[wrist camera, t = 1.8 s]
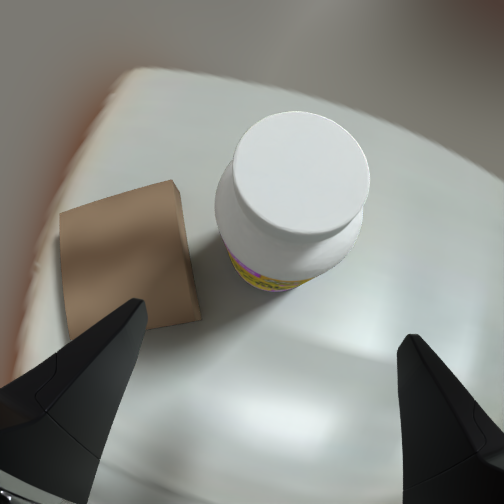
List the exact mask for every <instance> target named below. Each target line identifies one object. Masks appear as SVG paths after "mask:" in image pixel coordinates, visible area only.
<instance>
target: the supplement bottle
mask: <svg viewBox="0 0 504 504" xmlns="http://www.w3.org/2000/svg"><path fill="white" fill-rule="evenodd" d="M369 186H370V172H369V167H368V163H367V160H366V157H365V155H364V153H363V151H362V149H361V147H360V146H359V144H358V143H357V141H356V140H355V139H354V138H353V137H352V136H351V135H350V134H349V133H348V132H347V131H346V130H345V129H344V128H342V127H341V126H340V125H338V124H337V123H335V122H333V121H332V120H330V119H327V118H325V117H323V116H320V115H317V114H313V113H307V112H300V111H290V112H282V113H277V114H274V115H271V116H268V117H265V118H263V119H262V120H260V121H258V122H257V123H255V124H254V125H253V126H252V127H250V128H249V129H248V130H247V131H246V132H245V133H244V135H243V136H242V137H241V139H240V141H239V143H238V144H237V147H236V149H235V152H234V156H233V160H232V161H231V162H230V163H229V165H228V166H227V168H226V169H225V171H224V173H223V174H222V177H221V179H220V181H219V184H218V187H217V191H216V197H215V216H216V221H217V225H218V228H219V231H220V234H221V236H222V239H223V241H224V244H225V246H226V249H227V251H228V254H229V256H230V259H231V262H232V264H233V266H234V268H235V269H236V271H237V272H238V274H239V275H240V276H241V277H242V278H243V279H244V280H245V281H246V282H247V283H249V284H250V285H252V286H254V287H256V288H258V289H261V290H264V291H270V292H281V291H286V290H290V289H293V288H295V287H298V286H300V285H302V284H303V283H305V282H307V281H309V280H311V279H313V278H315V277H317V276H319V275H321V274H323V273H325V272H327V271H328V270H330V269H332V268H333V267H335V266H336V265H337V264H338V263H340V262H341V261H342V260H343V259H344V258H345V257H346V255H347V254H348V253H349V252H350V250H351V249H352V247H353V246H354V244H355V242H356V240H357V237H358V235H359V232H360V229H361V225H362V219H363V205H364V204H365V202H366V199H367V196H368V192H369Z"/></svg>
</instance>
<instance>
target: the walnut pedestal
mask: <svg viewBox="0 0 504 504" xmlns="http://www.w3.org/2000/svg"><path fill="white" fill-rule="evenodd" d="M60 256H61V272H62V284H63V294H64V302H65V310H66V317H67V324H68V330H69V336H70V340H73V339H75V338H76V337H78V336H79V335H80V334H82V333H83V332H84V331H86V330H87V329H89V328H90V327H91V326H93V325H94V324H96V323H97V322H98V321H100V320H101V319H103V318H104V317H105V316H107V315H108V314H110V313H111V312H112V311H114V310H115V309H117V308H118V307H119V306H121V305H122V304H124V303H125V302H127V301H128V300H129V299H131V298H139V299H143V300H144V301H145V304H146V309H147V314H148V322H147V326H146V329H145V330H147V329H153V328H159V327H165V326H171V325H177V324H182V323H188V322H193V321H199V320H202V318H201V313H200V308H199V303H198V298H197V293H196V288H195V282H194V277H193V272H192V266H191V261H190V255H189V249H188V243H187V237H186V231H185V224H184V218H183V211H182V205H181V198H180V192H179V190H178V189H177V187H176V185H175V184H174V182H173V180H168V181H164V182H160V183H156V184H152V185H149V186H145V187H142V188H138V189H134V190H131V191H127V192H124V193H121V194H117V195H114V196H111V197H108V198H104V199H101V200H98V201H95V202H92V203H89V204H86V205H83V206H80V207H77V208H74V209H71V210H68V211H65V212H62V213H60Z"/></svg>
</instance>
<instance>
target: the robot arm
mask: <svg viewBox="0 0 504 504" xmlns="http://www.w3.org/2000/svg"><path fill="white" fill-rule="evenodd" d="M147 322H148V314H147V309H146V304H145V301H144V300H143V299H139V298H131V299H129V300H128V301H127V302H125V303H124V304H122V305H121V306H119V307H118V308H117V309H115V310H114V311H112V312H111V313H110V314H108V315H107V316H105V317H104V318H103V319H101V320H100V321H98V322H97V323H96V324H94V325H93V326H91V327H90V328H89V329H87V330H86V331H84V332H83V333H82V334H80V335H79V336H78V337H76V338H75V339H73V340H72V341H71V342H69V343H68V344H67V345H65V346H64V347H63V348H61V349H60V350H59V351H57V353H54V354H53V355H52V356H50V357H49V358H48V359H46V360H45V361H43V362H42V363H41V364H39V365H38V366H36V367H35V368H33V369H32V370H30V371H28V372H27V373H25V374H24V375H22V376H20V377H19V378H17V379H15V380H14V381H12V382H10V383H9V384H7V385H6V386H4V387H2V388H0V504H61V503H62V500H63V499H65V500H68V501H70V502H73V503H76V504H87V501H88V498H89V494H90V491H91V488H92V484H93V481H94V478H95V475H96V471H97V468H98V465H99V462H100V460H99V459H101V455H102V452H103V449H104V447H105V444H106V441H107V438H108V435H109V432H110V429H111V426H112V424H113V421H114V418H115V415H116V413H117V410H118V407H119V405H120V402H121V399H122V397H123V394H124V391H125V389H126V386H127V384H128V381H129V379H130V376H131V374H132V371H133V369H134V366H135V363H136V361H137V357H138V354H139V350H140V347H141V343H142V340H143V336H144V333H145V329H146V326H147ZM397 373H398V398H399V408H400V419H401V432H402V451H403V490H404V491H403V504H504V433H503V432H502V431H501V429H500V428H499V427H498V426H497V425H496V424H495V423H494V422H493V421H492V420H491V418H490V417H489V416H488V415H487V414H486V413H485V411H484V410H483V409H482V408H481V407H480V405H479V404H478V403H477V402H476V400H474V398H473V397H472V396H471V394H470V393H469V392H468V391H467V389H466V388H465V387H464V386H463V385H462V383H461V382H460V381H459V380H458V379H457V377H456V376H455V375H454V374H453V373H452V372H451V370H450V369H449V368H448V367H447V366H446V365H445V363H444V362H443V361H442V360H441V359H440V358H439V357H438V355H437V354H436V353H435V352H434V351H433V350H432V349H431V348H430V346H429V345H428V344H427V343H426V342H425V341H424V340H423V339H422V338H421V336H419V335H418V334H408V335H407V336H406V337H405V339H404V340H403V342H402V343H401V345H400V346H399V348H398V350H397Z"/></svg>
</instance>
